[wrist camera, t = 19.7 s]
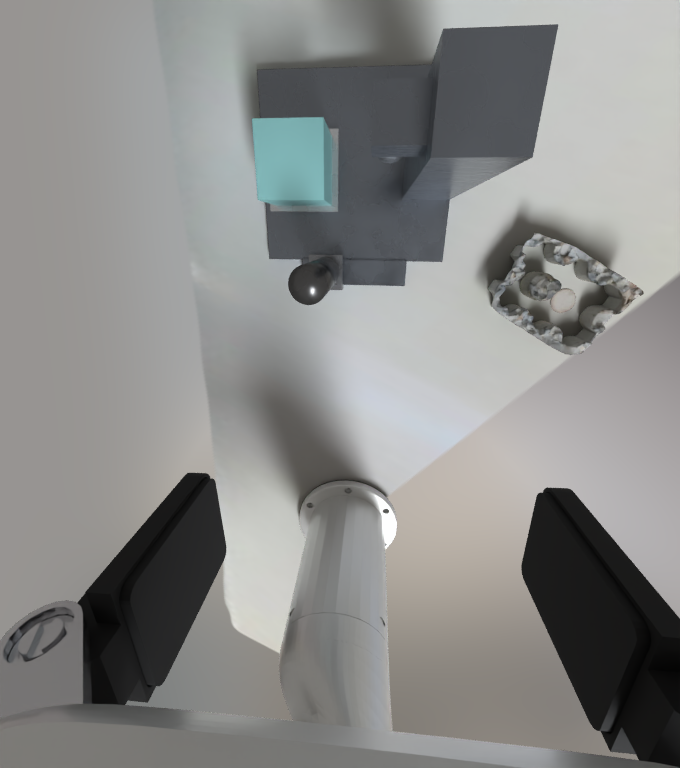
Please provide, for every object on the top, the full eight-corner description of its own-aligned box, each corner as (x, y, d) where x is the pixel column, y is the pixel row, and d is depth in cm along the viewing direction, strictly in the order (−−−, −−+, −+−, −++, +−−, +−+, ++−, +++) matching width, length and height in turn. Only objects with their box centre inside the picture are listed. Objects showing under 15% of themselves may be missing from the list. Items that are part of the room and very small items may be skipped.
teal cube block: (331, 205, 30) (324, 200, 26) (275, 205, 31) (257, 199, 26) (332, 136, 28) (323, 117, 24) (271, 137, 29) (251, 118, 24)
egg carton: (620, 286, 32) (653, 293, 28) (561, 353, 35) (583, 367, 31) (527, 224, 31) (549, 222, 27) (474, 298, 34) (486, 306, 30)
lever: (343, 288, 33) (329, 308, 24) (311, 287, 33) (286, 307, 24) (343, 254, 32) (329, 261, 22) (311, 253, 32) (284, 260, 23)
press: (437, 285, 33) (498, 333, 17) (273, 281, 34) (180, 322, 18) (462, 69, 27) (601, -198, 10) (261, 75, 28) (98, -155, 12)
